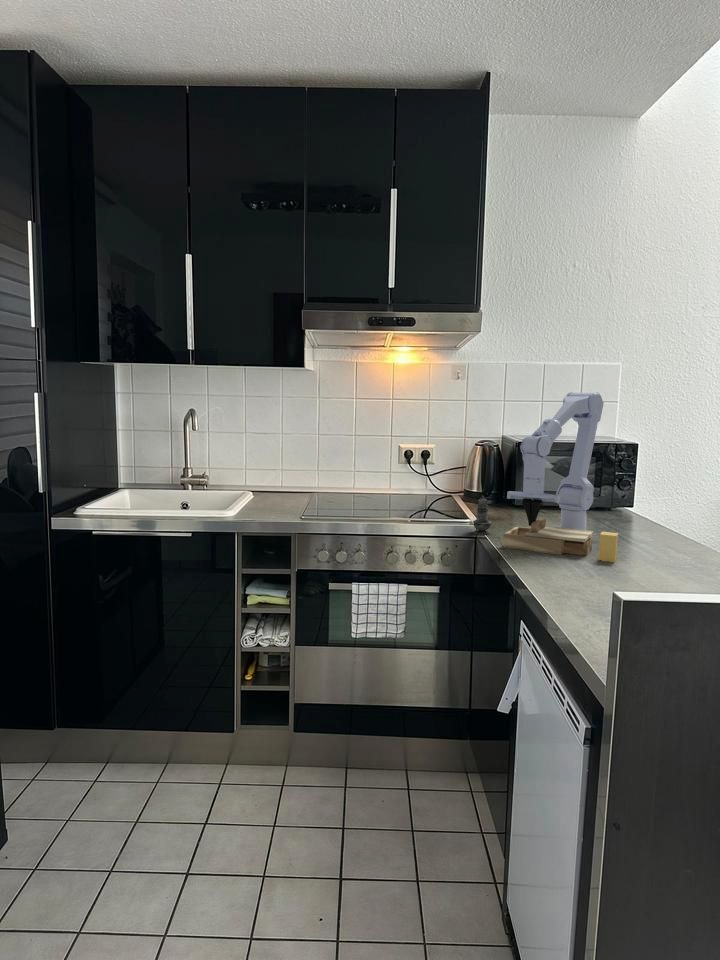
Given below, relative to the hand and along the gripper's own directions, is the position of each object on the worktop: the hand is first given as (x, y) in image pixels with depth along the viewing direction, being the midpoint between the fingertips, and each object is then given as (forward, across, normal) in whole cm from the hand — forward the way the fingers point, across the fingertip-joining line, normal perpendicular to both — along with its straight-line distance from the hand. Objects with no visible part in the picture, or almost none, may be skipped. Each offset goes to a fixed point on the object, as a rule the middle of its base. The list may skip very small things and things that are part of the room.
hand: (531, 525), depth 186 cm
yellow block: (+6, +22, -6) cm, 23 cm away
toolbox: (+6, +5, 0) cm, 8 cm away
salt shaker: (+6, -18, +10) cm, 22 cm away
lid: (+2, +8, 0) cm, 8 cm away
